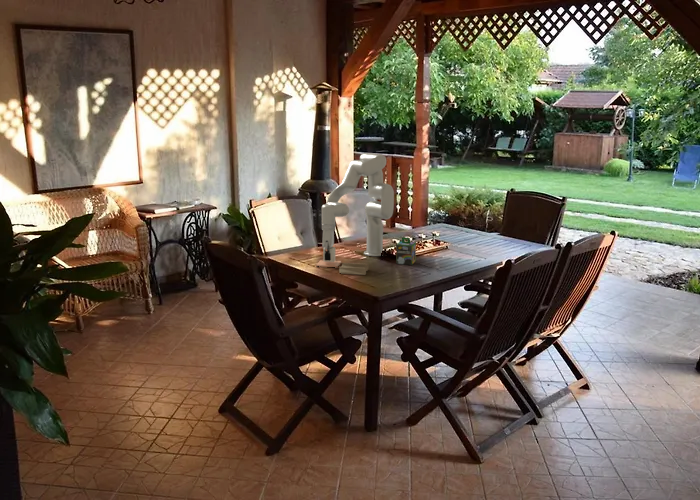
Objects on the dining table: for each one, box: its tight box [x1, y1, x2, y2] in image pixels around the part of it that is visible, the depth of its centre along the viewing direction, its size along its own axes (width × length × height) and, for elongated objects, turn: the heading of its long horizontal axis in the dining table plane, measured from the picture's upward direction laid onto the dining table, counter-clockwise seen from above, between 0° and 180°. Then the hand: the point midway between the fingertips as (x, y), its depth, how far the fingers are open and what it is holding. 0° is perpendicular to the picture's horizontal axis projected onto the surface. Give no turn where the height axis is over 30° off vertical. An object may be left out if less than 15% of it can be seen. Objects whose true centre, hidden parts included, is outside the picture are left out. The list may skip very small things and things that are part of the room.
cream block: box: [322, 246, 336, 262], centre depth 360 cm, size 6×6×7 cm
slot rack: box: [338, 262, 369, 276], centre depth 347 cm, size 10×14×4 cm
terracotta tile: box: [315, 259, 342, 269], centre depth 362 cm, size 12×12×1 cm
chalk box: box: [395, 236, 417, 266], centre depth 365 cm, size 9×9×15 cm
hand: (328, 258), depth 361 cm, fingers closed on cream block, 6 cm apart
